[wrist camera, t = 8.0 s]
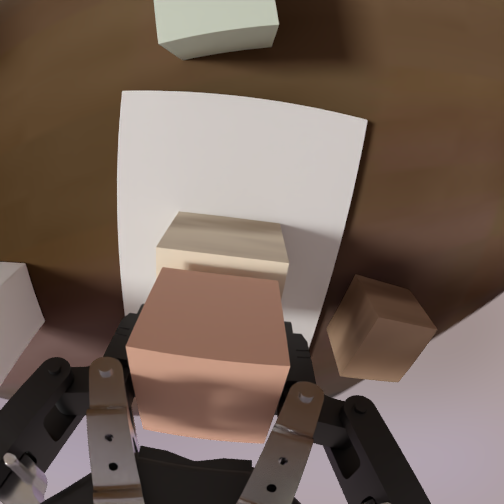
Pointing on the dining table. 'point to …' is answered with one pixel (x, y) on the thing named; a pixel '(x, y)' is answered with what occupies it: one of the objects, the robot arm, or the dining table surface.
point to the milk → (16, 314)
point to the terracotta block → (209, 356)
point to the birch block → (224, 247)
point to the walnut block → (378, 331)
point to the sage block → (214, 26)
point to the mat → (236, 182)
